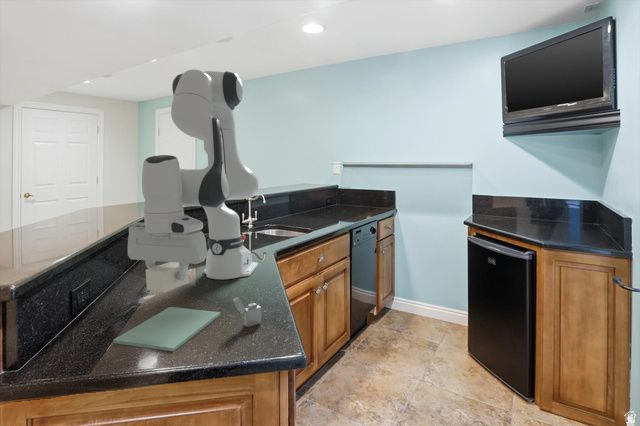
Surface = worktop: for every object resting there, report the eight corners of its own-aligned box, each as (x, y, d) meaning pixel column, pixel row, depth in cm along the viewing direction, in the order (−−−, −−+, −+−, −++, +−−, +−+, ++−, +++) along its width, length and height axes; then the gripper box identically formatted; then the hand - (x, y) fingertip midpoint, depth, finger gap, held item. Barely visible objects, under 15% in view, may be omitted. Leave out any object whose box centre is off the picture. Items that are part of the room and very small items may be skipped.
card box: (146, 289, 87) (145, 269, 86) (172, 280, 94) (171, 261, 94) (164, 292, 85) (162, 272, 84) (188, 282, 92) (187, 263, 92)
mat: (169, 309, 103) (169, 306, 103) (220, 315, 99) (220, 312, 99) (113, 343, 84) (113, 339, 84) (173, 351, 80) (173, 348, 80)
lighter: (258, 320, 95) (257, 291, 94) (261, 322, 94) (260, 293, 93) (233, 328, 91) (232, 297, 90) (236, 330, 90) (234, 299, 89)
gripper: (118, 223, 87) (123, 279, 89) (193, 226, 82) (196, 285, 84) (138, 219, 93) (141, 272, 95) (208, 222, 88) (211, 277, 90)
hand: (168, 278), depth 89 cm, fingers closed on card box, 6 cm apart
